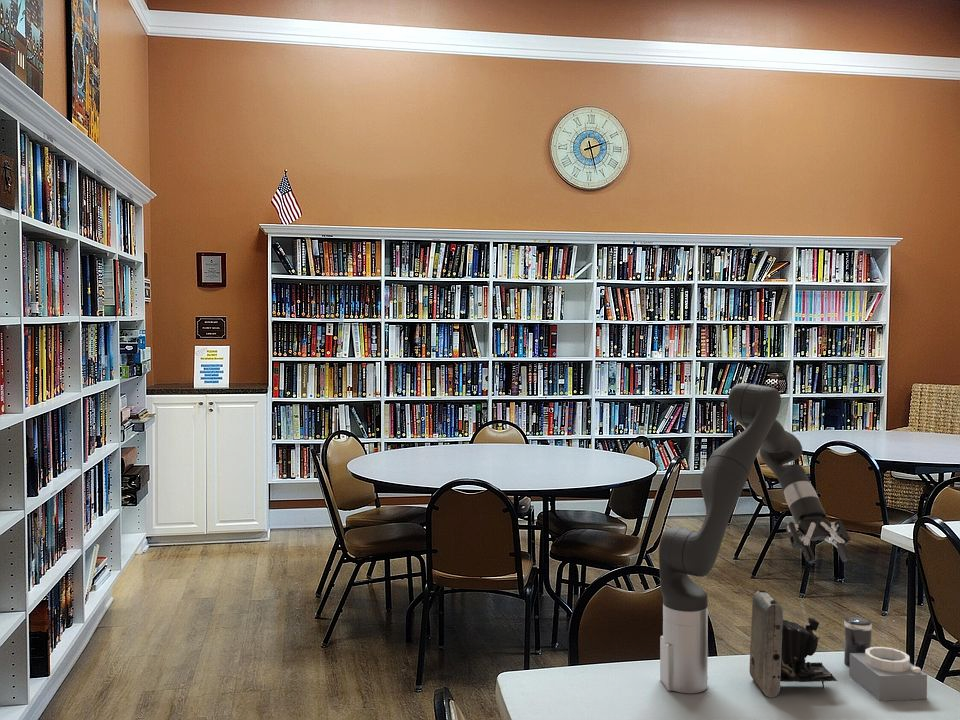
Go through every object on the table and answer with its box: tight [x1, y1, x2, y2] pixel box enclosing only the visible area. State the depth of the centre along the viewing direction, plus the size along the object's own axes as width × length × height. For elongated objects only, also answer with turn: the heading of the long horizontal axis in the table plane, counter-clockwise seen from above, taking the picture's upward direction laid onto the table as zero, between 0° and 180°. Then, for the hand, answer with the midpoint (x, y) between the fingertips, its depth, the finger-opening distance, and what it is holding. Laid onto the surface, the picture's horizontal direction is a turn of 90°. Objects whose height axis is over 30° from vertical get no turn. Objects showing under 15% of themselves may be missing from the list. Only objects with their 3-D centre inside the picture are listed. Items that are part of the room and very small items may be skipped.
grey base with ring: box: [849, 646, 928, 701], centre depth 173 cm, size 10×12×7 cm
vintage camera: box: [749, 589, 838, 698], centre depth 172 cm, size 10×16×20 cm, turn 89°
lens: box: [843, 615, 873, 668], centre depth 185 cm, size 6×6×10 cm
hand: (829, 561), depth 196 cm, fingers open, 8 cm apart
